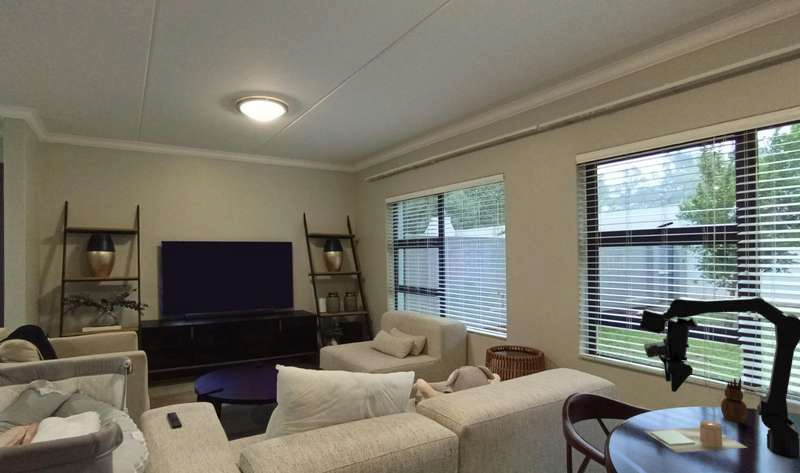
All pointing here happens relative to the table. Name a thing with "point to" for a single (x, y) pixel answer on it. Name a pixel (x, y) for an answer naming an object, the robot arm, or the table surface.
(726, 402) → the wooden figurine
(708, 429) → the cap
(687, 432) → the board
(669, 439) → the pad
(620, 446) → the table surface
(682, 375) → the robot arm
